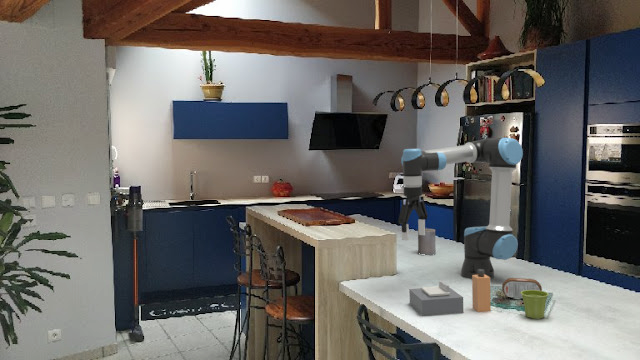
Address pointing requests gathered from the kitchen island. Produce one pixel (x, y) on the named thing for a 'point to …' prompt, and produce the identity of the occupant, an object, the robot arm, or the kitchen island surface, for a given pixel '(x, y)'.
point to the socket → (436, 303)
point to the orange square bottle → (481, 292)
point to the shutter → (437, 290)
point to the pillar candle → (427, 242)
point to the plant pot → (534, 303)
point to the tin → (519, 286)
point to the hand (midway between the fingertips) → (413, 237)
